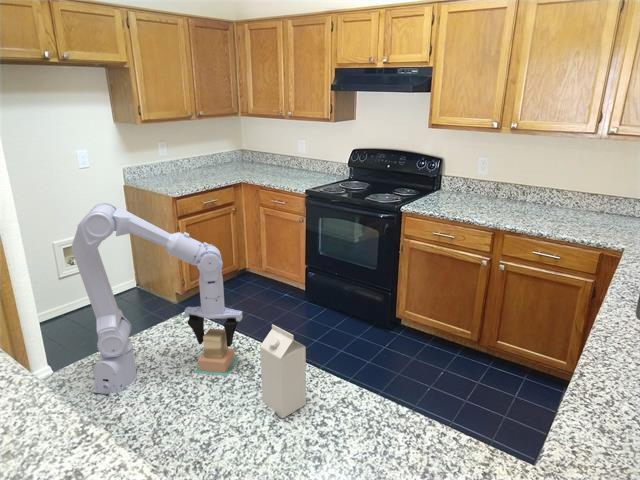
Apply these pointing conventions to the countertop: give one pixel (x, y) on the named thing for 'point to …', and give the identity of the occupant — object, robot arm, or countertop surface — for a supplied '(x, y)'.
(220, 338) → the maple block
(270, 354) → the milk carton
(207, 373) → the board
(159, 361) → the countertop surface
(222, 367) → the base block
